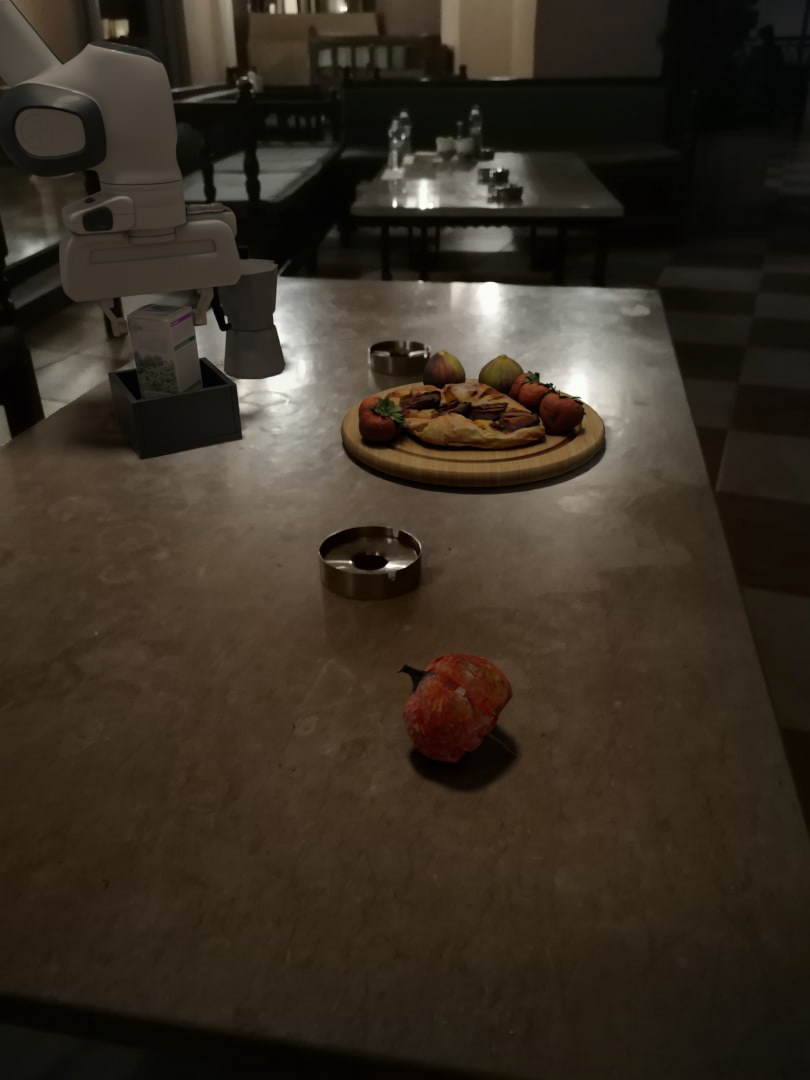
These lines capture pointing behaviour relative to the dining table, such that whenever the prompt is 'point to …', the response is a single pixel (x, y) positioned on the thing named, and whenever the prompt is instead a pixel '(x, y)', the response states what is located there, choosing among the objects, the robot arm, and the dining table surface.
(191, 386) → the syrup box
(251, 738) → the dining table surface
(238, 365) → the coffeepot
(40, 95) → the robot arm
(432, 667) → the red rounded piece
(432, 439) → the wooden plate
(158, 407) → the open box
